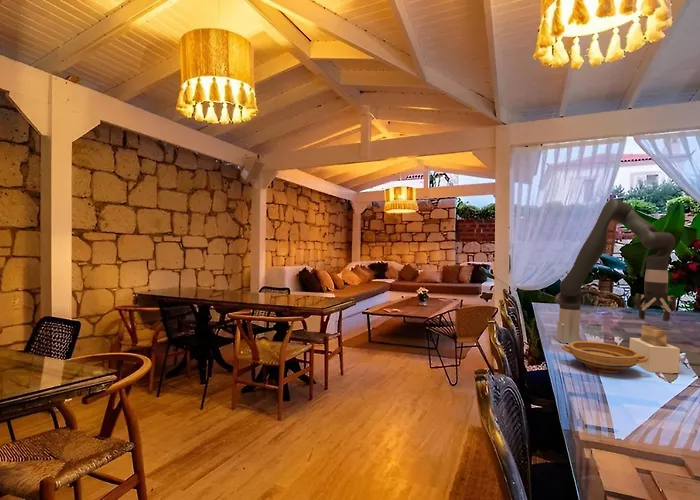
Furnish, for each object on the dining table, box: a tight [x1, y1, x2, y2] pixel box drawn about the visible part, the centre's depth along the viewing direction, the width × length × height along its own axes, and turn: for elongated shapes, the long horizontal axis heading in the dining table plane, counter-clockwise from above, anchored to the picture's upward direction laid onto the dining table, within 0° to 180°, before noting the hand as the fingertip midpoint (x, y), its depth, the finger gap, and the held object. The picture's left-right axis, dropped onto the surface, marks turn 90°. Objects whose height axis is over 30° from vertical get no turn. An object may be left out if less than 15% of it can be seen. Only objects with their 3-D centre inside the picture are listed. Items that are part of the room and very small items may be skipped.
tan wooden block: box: [640, 325, 668, 347], centre depth 163 cm, size 4×10×9 cm, turn 170°
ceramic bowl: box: [560, 340, 648, 374], centre depth 159 cm, size 30×24×8 cm
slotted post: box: [628, 337, 681, 374], centre depth 163 cm, size 10×15×10 cm
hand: (653, 320), depth 162 cm, fingers open, 8 cm apart
